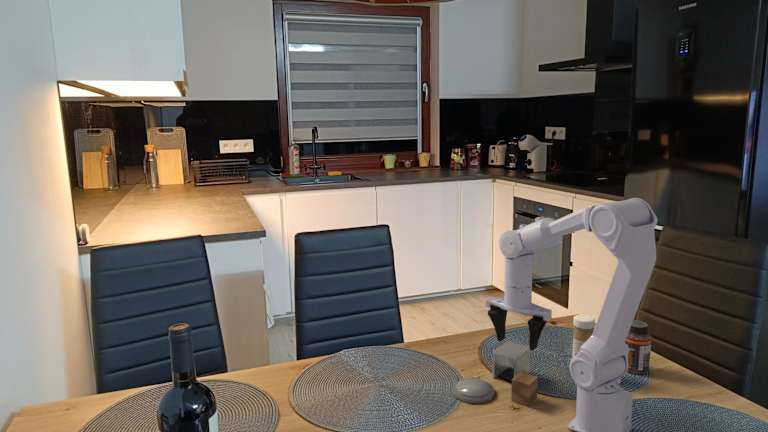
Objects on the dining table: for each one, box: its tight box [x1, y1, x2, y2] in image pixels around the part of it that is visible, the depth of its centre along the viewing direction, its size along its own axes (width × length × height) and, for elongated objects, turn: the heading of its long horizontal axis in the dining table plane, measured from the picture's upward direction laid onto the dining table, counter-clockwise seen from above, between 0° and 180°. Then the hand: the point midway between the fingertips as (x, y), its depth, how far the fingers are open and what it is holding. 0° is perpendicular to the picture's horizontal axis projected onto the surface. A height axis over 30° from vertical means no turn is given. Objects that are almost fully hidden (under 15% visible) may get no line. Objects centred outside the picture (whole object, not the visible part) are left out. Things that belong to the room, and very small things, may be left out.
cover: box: [491, 340, 532, 379], centre depth 122 cm, size 6×7×6 cm
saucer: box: [451, 378, 495, 405], centre depth 116 cm, size 9×9×1 cm
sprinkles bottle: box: [571, 314, 596, 359], centre depth 122 cm, size 5×5×14 cm
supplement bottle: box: [625, 320, 652, 375], centre depth 124 cm, size 6×6×11 cm
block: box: [510, 372, 539, 408], centre depth 112 cm, size 4×4×5 cm
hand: (517, 344), depth 118 cm, fingers open, 7 cm apart
